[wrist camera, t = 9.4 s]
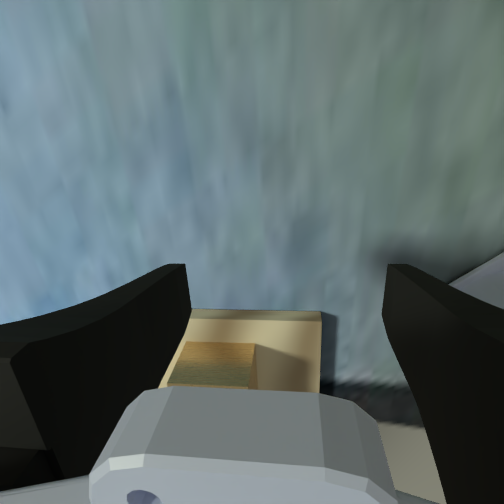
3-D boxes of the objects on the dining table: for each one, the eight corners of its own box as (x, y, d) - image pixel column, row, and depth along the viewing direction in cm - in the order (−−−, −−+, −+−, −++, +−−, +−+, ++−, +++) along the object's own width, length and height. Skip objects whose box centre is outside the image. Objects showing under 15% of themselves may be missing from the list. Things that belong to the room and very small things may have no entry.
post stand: (320, 311, 23) (326, 355, 19) (317, 407, 26) (321, 461, 22) (129, 307, 25) (97, 347, 21) (150, 397, 28) (125, 447, 24)
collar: (254, 343, 23) (247, 386, 20) (258, 396, 25) (252, 445, 21) (186, 341, 24) (166, 383, 20) (194, 393, 26) (178, 440, 22)
